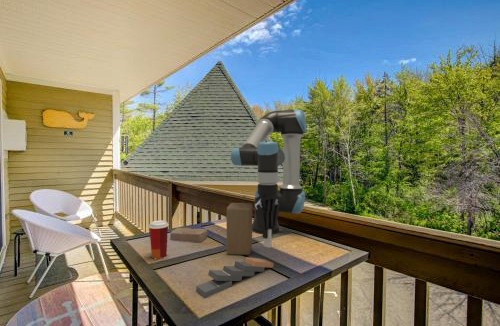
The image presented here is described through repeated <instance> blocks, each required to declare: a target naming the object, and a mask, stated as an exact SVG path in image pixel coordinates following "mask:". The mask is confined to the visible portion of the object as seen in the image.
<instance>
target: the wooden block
mask: <svg viewBox="0 0 500 326" xmlns="http://www.w3.org/2000/svg"><path fill="white" fill-rule="evenodd" d="M252 224H253V203H249V202H248V203H247V202H246V203H245V202H230V203H229V205H228V206H227V207H226V254H227V255H235V256H236V255H238V256H240V255H241V256H249V255H251V252H252V247H253V231H252Z"/></svg>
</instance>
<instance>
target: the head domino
mask: <svg viewBox="0 0 500 326" xmlns="http://www.w3.org/2000/svg"><path fill="white" fill-rule="evenodd" d="M244 262H246V263H248V264H250V265H252V266H256V267H265V268H270V269H272V268H274V262H271V261H269V260H267V259H264V258H259V257H258V258H256V257H247V256H246V257H245V259H244Z"/></svg>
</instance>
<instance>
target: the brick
mask: <svg viewBox="0 0 500 326" xmlns="http://www.w3.org/2000/svg"><path fill="white" fill-rule="evenodd" d="M207 237H208V229H207V228H189V227H177V228H175V229H174V230H172V231H170V235H169V239H170V241H176V242H177V241H179V242H188V243H190V242H191V243H200V242H201V243H202V242H203V241H204V240H206V239H207Z"/></svg>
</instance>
